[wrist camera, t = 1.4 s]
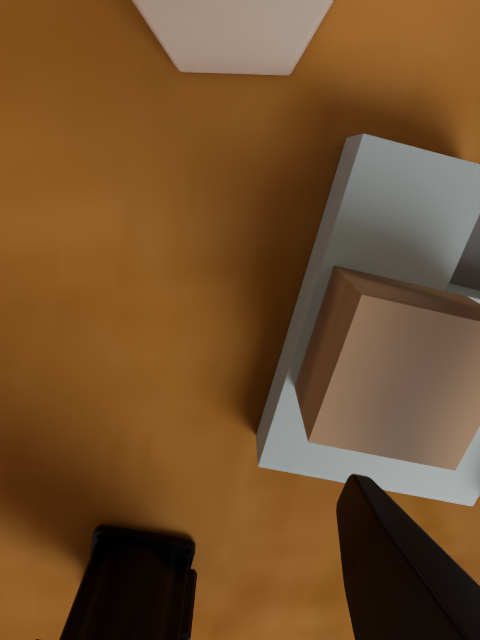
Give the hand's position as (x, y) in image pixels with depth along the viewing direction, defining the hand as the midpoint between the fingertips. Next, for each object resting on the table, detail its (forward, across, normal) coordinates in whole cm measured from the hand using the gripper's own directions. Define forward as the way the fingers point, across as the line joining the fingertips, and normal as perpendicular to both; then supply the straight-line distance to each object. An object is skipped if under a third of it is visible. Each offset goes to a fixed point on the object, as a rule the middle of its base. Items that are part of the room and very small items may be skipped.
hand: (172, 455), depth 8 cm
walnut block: (+10, -8, 0) cm, 12 cm away
